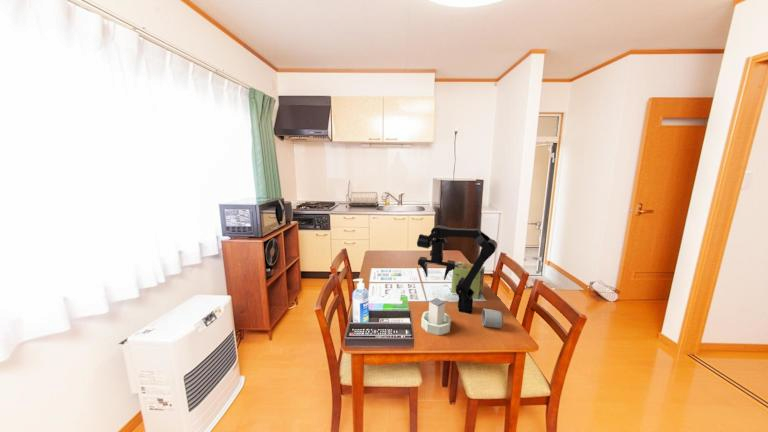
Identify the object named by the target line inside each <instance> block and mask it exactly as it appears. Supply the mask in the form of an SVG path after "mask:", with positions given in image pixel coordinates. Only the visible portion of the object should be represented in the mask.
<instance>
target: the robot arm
mask: <svg viewBox="0 0 768 432" xmlns="http://www.w3.org/2000/svg"><path fill="white" fill-rule="evenodd" d="M447 237H451V238H452V237H453V238H454V237H455V238H468V239H469V238H471V239H474V240H475V242H476V243H477V244H478V245H479V247H480V248H481V249H480V252H479V255H478V257H477V259H476V261H475V262H474V263H473V264H474V265H473V267H472V268H471V270H470V271H469V273H468V275H467V276H466V277H465V278H463V277H461V279H460V280H459V282H458V284H457V285H456V293H455V294H456V295H457V296H458V302H457V309H458V311H459V312H462V313H466V314H473V304H474V298H472V297H473V295H474V291H473V290H472V289H471V285H472V282H473V280H474V278H475V277H476V275H477V274H478V272H479V270H480V269H481V267H482V266H484V264H485V263H486V261H487V260H489V258H490V257H491V256H492V255H493V254H494V253H495V252H496V250H497V248H498V243H497V241H496V240H495V239H493V238H491V237H489V235H487V234H485V233H484V232H483V231H482V230H481V229H479V228H463V227H462V228H460V227H459V228H457V227H449V226H447V225H442V224H441V225H440V224H438V225H436V226H434V227H432V229H431V231H430V234H429V235H426V234H423V233H420V234H419V235H418V238H417V242H416V245H417V248H423V249H430V248H431V250H430V253H429V256H430V257H431V259H428V257H426V256H420V257H419V258H418V260H417V265H418V266H419V267H421V268H422V270H423V272H424V274H425V277H426V278H428V274H429V271H428V264H430V265H436V266H444V267H445V272H444V275H443V279H444V281H445V280H446V279H447V277H448V274H449V273H450V271H452V272H453V270H454V269H455V265H456V261H455V260H449V259H448V260H447V261H443V260H444V244H446V243H448V242H449V241H448V240H447V239H446V238H447Z"/></svg>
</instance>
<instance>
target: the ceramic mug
mask: <svg viewBox="0 0 768 432" xmlns="http://www.w3.org/2000/svg"><path fill="white" fill-rule="evenodd" d="M504 320H505V319H504V313H502V311H499V310H497V309H496V310H495V309H489V308H484V307H483V309H482V312H481V324H482V326H483V327H488V328H495V329H501V328H502V327H503V326H504Z"/></svg>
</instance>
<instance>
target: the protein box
mask: <svg viewBox="0 0 768 432" xmlns="http://www.w3.org/2000/svg"><path fill="white" fill-rule="evenodd" d="M473 265H474V263H468V262H463V261H458V262H456V263H455V269H454V270H452V278H451V280H452V281H451V292H452V293H454V294H457V293H456V285H457V284H458V282H459V280H460V279H461V277H463V278H465V277H466V276H467V275H468V273H469V271H470V270H471V268H472V267H473ZM484 277H485V266H484V265H483V266H482V267H481V269H480V270H479V272H478V274H477V275H476V277H475V278H474V280H473V282H472V285H471V289H472V290H473V291H474V295H473V297H472V298H473V299H475V300H479V298H480V296H481V295H482V294H483V290H484V280H485V279H484Z"/></svg>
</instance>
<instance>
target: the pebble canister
mask: <svg viewBox="0 0 768 432" xmlns="http://www.w3.org/2000/svg"><path fill="white" fill-rule="evenodd" d="M428 311H429V315H428V322H429V323H430V324H435V325H443V324H444V316H445V313H446V301H444V300H441V299H440V298H437V297H436V298H433V299H431V300H429V302H428Z"/></svg>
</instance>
